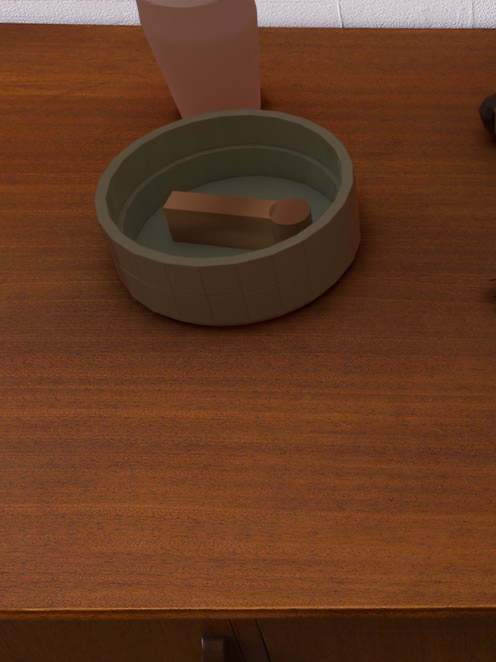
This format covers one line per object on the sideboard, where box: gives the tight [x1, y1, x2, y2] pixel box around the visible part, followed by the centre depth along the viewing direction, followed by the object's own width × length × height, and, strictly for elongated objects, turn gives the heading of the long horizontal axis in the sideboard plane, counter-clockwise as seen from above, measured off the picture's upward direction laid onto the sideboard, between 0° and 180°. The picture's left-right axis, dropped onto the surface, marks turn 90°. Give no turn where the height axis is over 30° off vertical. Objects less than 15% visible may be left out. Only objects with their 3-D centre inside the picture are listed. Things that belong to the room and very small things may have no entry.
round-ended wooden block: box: [163, 191, 313, 250], centre depth 73 cm, size 10×3×3 cm, turn 82°
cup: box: [135, 0, 262, 119], centre depth 82 cm, size 9×9×12 cm
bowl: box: [93, 109, 362, 327], centre depth 72 cm, size 18×18×6 cm
